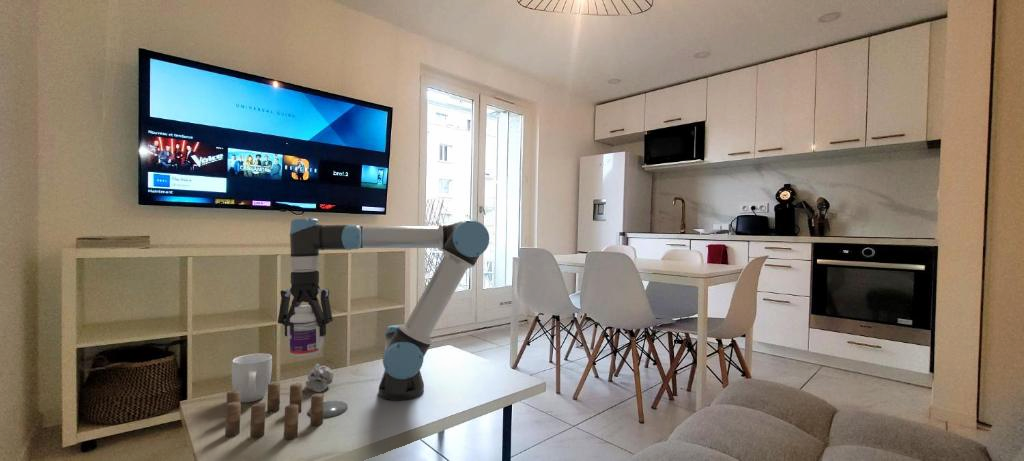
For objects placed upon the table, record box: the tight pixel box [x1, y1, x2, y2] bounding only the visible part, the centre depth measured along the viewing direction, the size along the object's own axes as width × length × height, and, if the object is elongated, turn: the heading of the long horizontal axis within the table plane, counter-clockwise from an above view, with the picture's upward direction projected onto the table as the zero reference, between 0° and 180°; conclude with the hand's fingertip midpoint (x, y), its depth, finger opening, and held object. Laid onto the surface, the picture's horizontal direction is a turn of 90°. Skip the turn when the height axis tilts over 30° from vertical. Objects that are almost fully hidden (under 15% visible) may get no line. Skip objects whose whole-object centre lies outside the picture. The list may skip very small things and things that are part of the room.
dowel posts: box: [224, 381, 325, 441], centre depth 115 cm, size 28×18×8 cm, turn 86°
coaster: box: [307, 400, 349, 419], centre depth 125 cm, size 11×11×1 cm
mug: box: [231, 352, 273, 403], centre depth 130 cm, size 15×11×13 cm
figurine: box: [305, 363, 334, 393], centre depth 143 cm, size 8×10×12 cm
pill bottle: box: [289, 304, 321, 359], centre depth 120 cm, size 8×8×14 cm
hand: (305, 347), depth 120 cm, fingers closed on pill bottle, 8 cm apart
